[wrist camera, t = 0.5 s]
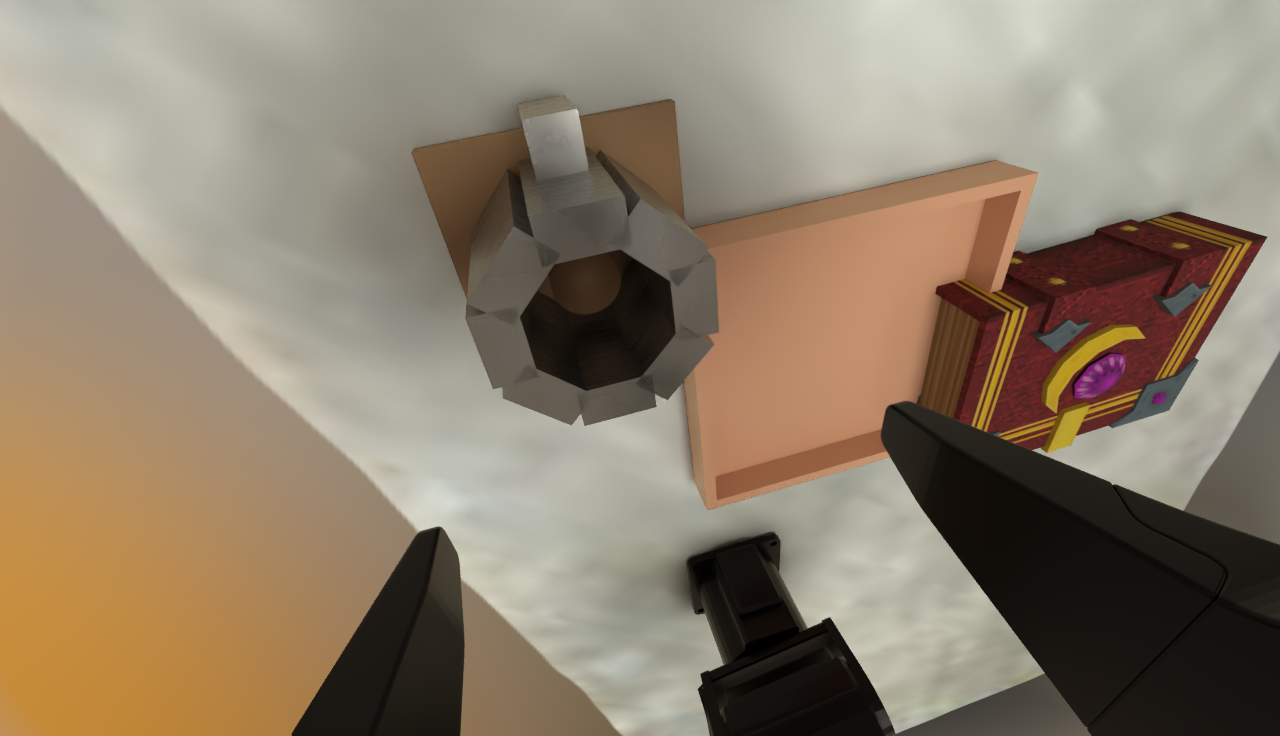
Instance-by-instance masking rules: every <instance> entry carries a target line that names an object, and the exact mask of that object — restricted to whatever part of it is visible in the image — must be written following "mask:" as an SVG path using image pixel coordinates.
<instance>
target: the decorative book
mask: <svg viewBox="0 0 1280 736" xmlns="http://www.w3.org/2000/svg"><path fill="white" fill-rule="evenodd" d="M1266 238H1267V237H1266V236H1263V235H1259V234H1256V233H1252V232H1249V231H1245V230H1242V229H1238V228H1235V227H1231V226H1228V225H1224V224H1221V223H1217V222H1214V221H1211V220H1207V219H1204V218H1200V217H1197V216H1193V215H1190V214H1186V213H1183V212H1177V213H1174V214H1170V215H1166V216H1163V217H1159V218H1156V219H1152V220H1149V221H1145V222H1141V223H1140V222H1137V221H1134V220H1127V221H1123V222H1120V223H1116V224H1113V225H1109V226H1105V227H1102V228H1098V229H1096V231H1095V234H1094V236H1092V237H1088V238H1084V239H1081V240H1077V241H1074V242H1070V243H1067V244H1063V245H1059V246H1056V247H1052V248H1049V249H1045V250H1042V251H1038V252H1035V253H1031V254H1025V253H1023V252H1020V251H1016V252H1013V255H1012V258H1011V261H1010V264H1009V267H1008V270H1007V273H1006V276H1005V280H1004V283H1003V286H1002V289H1001V290H998V291H995V292H991V293H989V292H988V291H986V290H984V289H982V288H980V287H979V286H977V285H975V284H973V283H971V282H970V281H968V280H966V279H962V280H958V281H955V282H951V283H948V284H944V285H940V286H937V288H936V293H935V294H937V295H938V296H940V297H941V302H940V307H939V311H938V316H937V321H936V325H935V330H934V335H933V339H932V344H931V349H930V353H929V358H928V363H927V367H926V372H925V377H924V381H923V386H922V391H921V395H919V397H918V400H917V404H918V405H921V406H923V407H926V408H928V409H931V410H933V411H936V412H938V413H941V414H943V415H946V416H948V417H950V418H953V419H955V420H958V421H960V422H963V423H965V424H968V425H970V426H973V427H975V428H978V429H980V430H983V431H985V432H988V433H990V434H992V435H995V436H997V437H1000V438H1002V439H1005V440H1007V441H1010V442H1012V443H1015V444H1017V445H1020V446H1022V447H1025V448H1027V449H1030V450H1034V449H1037V448H1041V449H1042V450H1044V451H1045V452H1046V453H1049V452H1052V451H1055V450H1058V449H1061V448H1064V447H1067V446H1070V445H1071V444H1072V442H1073V440H1074V438H1075V436H1077V435H1080V434H1083V433H1086V432H1090V431H1093V430H1096V429H1099V428H1102V427H1105V426H1108V425H1109V426H1110V427H1112V428H1114V427H1117V426H1121V425H1124V424H1127V423H1130V422H1133V421H1137V420H1140V419H1143V418H1146V417H1149V416H1153V415H1156V414H1159V413H1162V412H1165V411H1169V409H1170V408H1171V406H1172V404H1173V403H1174V401H1175V399H1176V398H1177V396H1178V394H1179V393H1180V391H1181V389H1182V388H1183V386H1184V384H1185V383H1186V381H1187V379H1188V377H1189V376H1190V374H1191V372H1192V371H1193V369H1194V367H1195V366H1196V364H1197V362H1198V361H1199V360H1198V359H1196V358H1195V356H1196V354H1197V353H1198V351H1199V349H1200V348H1201V346H1202V344H1203V343H1204V341H1205V340H1206V338H1207V336H1208V335H1209V333H1210V331H1211V330H1212V328H1213V326H1214V325H1215V323H1216V321H1217V320H1218V318H1219V316H1220V315H1221V313H1222V311H1223V310H1224V308H1225V306H1226V305H1227V303H1228V301H1229V300H1230V298H1231V296H1232V295H1233V293H1234V291H1235V290H1236V288H1237V286H1238V285H1239V283H1240V281H1241V280H1242V278H1243V276H1244V275H1245V273H1246V271H1247V270H1248V268H1249V266H1250V265H1251V263H1252V262H1253V260H1254V258H1255V257H1256V255H1257V253H1258V252H1259V250H1260V248H1261V247H1262V245H1263V243H1264V242H1265V240H1266Z"/></svg>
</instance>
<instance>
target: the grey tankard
mask: <svg viewBox="0 0 1280 736" xmlns="http://www.w3.org/2000/svg"><path fill="white" fill-rule="evenodd" d="M517 107H518V111H519V115H520V119H521V123H522V127H523V131H524V135H525V139H526V143H527V147H528V151H529V155H530V159H525V160H520V161H518V166H519V172H520V177H519V176H518V175H516V174H515V173H513V172H512V171H510V170H508V169H506V171H505V173H504V175H503V176H502V178H501V180H500V182H499V183H498V185H497V187H496V189H495V190H494V192H493V194H492V196H491V197H490V199H489V201H488V202H487V204H486V206H485V208H484V209H483V211H482V213H481V215H480V216H479V218H478V220H477V222H476V223H475V225H474V227H473V229H472V240H471V253H470V266H469V279H468V292H467V305H466V321H467V323H468V326H469V328H470V331H471V334H472V336H473V339H474V341H475V344H476V346H477V349H478V351H479V354H480V357H481V359H482V362H483V364H484V367H485V369H486V372H487V374H488V377H489V380H490V382H491V385H492V387H493V389H495V388H499V387H502V389H503V398H504V399H507V400H509V401H512V402H514V403H517V404H519V405H522V406H524V407H527V408H529V409H532V410H534V411H537V412H539V413H542V414H544V415H547V416H549V417H552V418H554V419H557V420H559V421H562V422H564V423H567V424H570V425H572V424H573V423H574V421H575V420H576V419H577V418H578V416H579V415H580V414H582V418H583V422H584V425H585V426H586V425H590V424H593V423H597V422H601V421H605V420H609V419H612V418H616V417H620V416H624V415H627V414H631V413H635V412H639V411H643V410H646V409H650V408H654V407H656V400H655V394H656V395H658V396H660V397H663V398H665V399H667V400H668V399H669V398H670V396H671V395H672V394H673V393H674V392H675V391H676V389H677V388H678V387H679V386H680V385H681V383H682V382H683V381H684V380H685V379H686V378H687V376H688V375H689V374H690V373H691V372H692V370H693V369H694V368H695V367H696V366H697V365H698V363H699V362H700V361H701V360H702V359H703V357H704V356H705V355H706V354H707V353H708V352H709V350H710V349H711V348H712V347H713V346H714V343H713V341H712V340H711V338H710V337H709V335H711V334H715V333H719V320H718V300H717V280H716V260H715V259H714V258H713V257H712V255H711V254H710V253H709V252H708V251H707V250H708V249H709V247H708V246H707V245H706V244H705V243H704V242H703V241H702V240H701V239H700V238H699V236H698V235H697V234H696V233H695V232H694V231H693V230H692V229H691V228H690V227H689V226H688V225H687V224H686V223H685V222H684V220H683V219H682V218H681V217H680V216H679V215H678V214H677V213H676V212H675V211H674V210H673V209H672V208H671V207H670V206H669V205H668V203H667V202H666V201H665V200H664V199H663V198H662V197H661V196H660V195H659V194H658V193H657V192H656V191H655V190H654V189H653V188H652V187H650V186H649V185H648V184H646V183H645V182H644V181H642V180H641V179H640V178H638V177H637V176H635V175H634V174H633V173H631V172H630V171H629V170H627V169H626V168H625V167H623V166H622V165H621V164H619V163H618V162H617V161H615V160H614V159H613V158H611V157H610V156H608V155H607V154H606V153H604V152H603V151H602V150H600V151H599V153H598V154H597V156H596V157H595V155H594V154H593V153H592V151H591V150H590V149H589V147H585V146H584V140H583V135H582V130H581V124H580V119H579V114H578V109H577V108H576V107H575V105H574V104H573V103H572V102H571V101H570V100H569V99H568V98H567V97H566V96H565V95H563V96H558V97H553V98H548V99H542V100H537V101H532V102H526V103H521V104H517ZM616 250H622V251H623V252H625V253H627V254H628V255H630V256H631V257H632V259H633V260H632V261H631V263H630V264H629V265H628V267H627V268H626V270H625V271H624V272H623V274H622V275H621V285H620V289H619V292H618V294H617V296H616V298H615V299H614V300H613V302H612V303H611V304H610V305H608V306H607V307H606V308H604V309H603V310H601V311H598V312H595V313H591V314H577V313H573V312H570V311H568V310H566V309H565V308H563V307H562V306H561V305H560V304H559V303H558V302H557V301H555V300H554V299H552V298H550V297H548V296H546V295H544V294H542V293H540V292H539V291H537V290H538V288H539V287H540V285H541V284H542V282H543V281H544V279H545V278H546V276H547V275H548V273H549V272H550V270H551V269H552V267H553V266H554V264H558V263H563V262H567V261H572V260H576V259H580V258H585V257H589V256H594V255H598V254H602V253H607V252H611V251H616Z"/></svg>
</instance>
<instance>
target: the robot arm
mask: <svg viewBox="0 0 1280 736" xmlns="http://www.w3.org/2000/svg"><path fill="white" fill-rule="evenodd" d="M881 441H882V444H883V446H884V448H885V449H886V451H887V453H888V454H889V456H890V458H891V459H892V461H893V463H894V464H895V466H896V468H897V469H898V471H899V472H900V474H901V476H902V477H903V479H904V481H905V482H906V484H907V486H908V487H909V489H910V491H911V492H912V494H913V496H914V497H915V499H916V501H917V502H918V504H919V505H920V507H921V508H922V510H923V511H924V512H925V514H926V515H927V517H928V518H929V519H930V521H931V522H932V523H933V525H934V526H935V527H936V529H937V530H938V531H939V533H940V534H941V535H942V537H943V538H944V539H945V541H946V542H947V543H948V545H949V546H950V547H951V549H952V550H953V551H954V553H955V554H956V555H957V557H958V558H959V559H960V561H961V562H962V563H963V565H964V566H965V567H966V569H967V570H968V571H969V573H970V574H971V575H972V577H973V578H974V579H975V581H976V582H977V583H978V585H979V586H980V587H981V589H982V590H983V591H984V593H985V594H986V595H987V597H988V598H989V599H990V601H991V602H992V603H993V604H994V606H995V607H996V608H997V610H998V611H999V612H1000V614H1001V615H1002V616H1003V618H1004V619H1005V620H1006V622H1007V623H1008V624H1009V626H1010V627H1011V628H1012V630H1013V631H1014V632H1015V634H1016V635H1017V636H1018V638H1019V639H1020V640H1021V642H1022V643H1023V644H1024V646H1025V647H1026V648H1027V650H1028V651H1029V652H1030V654H1031V655H1032V656H1033V658H1034V659H1035V660H1036V662H1037V663H1038V664H1039V666H1040V667H1041V668H1042V670H1043V671H1044V672H1045V674H1046V675H1047V676H1048V678H1049V679H1050V680H1051V682H1052V683H1053V684H1054V686H1055V687H1056V688H1057V690H1058V691H1059V692H1060V694H1061V695H1062V696H1063V698H1064V699H1065V700H1066V702H1067V703H1068V704H1069V706H1070V707H1071V708H1072V710H1073V711H1074V712H1075V714H1076V715H1077V716H1078V718H1079V719H1080V720H1081V722H1082V723H1083V724H1084V725H1085V726H1086V727H1088V728H1087V730H1088V731H1089V733H1090V734H1091V735H1092V736H1280V545H1279V544H1276V543H1273V542H1270V541H1268V540H1264V539H1262V538H1258V537H1256V536H1253V535H1250V534H1247V533H1244V532H1241V531H1239V530H1236V529H1233V528H1230V527H1227V526H1224V525H1221V524H1218V523H1216V522H1213V521H1210V520H1207V519H1205V518H1202V517H1199V516H1196V515H1193V514H1190V513H1188V512H1185V511H1182V510H1180V509H1177V508H1174V507H1172V506H1169V505H1167V504H1164V503H1161V502H1159V501H1156V500H1154V499H1151V498H1149V497H1146V496H1143V495H1141V494H1138V493H1136V492H1134V491H1131V490H1129V489H1126V488H1124V487H1121V486H1119V485H1116V484H1114V485H1112V484H1111V483H1110V482H1109V481H1106V480H1104V479H1101V478H1099V477H1096V476H1094V475H1091V474H1089V473H1086V472H1084V471H1081V470H1079V469H1076V468H1074V467H1071V466H1069V465H1067V464H1064V463H1062V462H1059V461H1057V460H1054V459H1052V458H1049V457H1047V456H1044V455H1042V454H1039V453H1037V452H1034V451H1032V450H1030V449H1027V448H1025V447H1022V446H1020V445H1017V444H1015V443H1012V442H1010V441H1007V440H1005V439H1002V438H1000V437H997V436H995V435H992V434H990V433H988V432H985V431H983V430H980V429H978V428H975V427H973V426H970V425H968V424H965V423H963V422H960V421H958V420H955V419H953V418H950V417H948V416H946V415H943V414H941V413H938V412H936V411H933V410H931V409H928V408H926V407H923V406H921V405H918V404H916V403H913V402H911V401H901V402H898V403H894V404H890V405H888V407H887V408H886V410H885V414H884V419H883V424H882V428H881ZM779 561H780V539H779V538H778V536H777V535H776V534H772V535H768V536H765V537H761V538H758V539H755V540H752V541H748V542H745V543H742V544H738V545H735V546H732V547H728V548H725V549H722V550H718V551H715V552H712V553H709V554H705V555H702V556H699V557H695V558H692V559H690V560H689V561H688V562H687V569H688V576H689V583H690V590H691V598H692V605H693V609H694V612H695V614H698V615H699V614H703V613H705V614H706V617H707V619H708V622H709V625H710V628H711V630H712V633H713V636H714V639H715V641H716V644H717V647H718V650H719V653H720V655H721V658H722V661H723V664H724V665H723V666H721V667H719V668H716V669H714V670H712V671H710V672H709V670H708V671H705V672H703V673H701V674H700V675H701V679H702V683H703V684H702V685H701V686H700V687H699V689H698V691H699V694H700V698H701V701H702V704H703V707H704V711H705V714H706V718H707V723H708V728H709V734H710V736H895V731H894V728H893V726H892V723H891V721H890V719H889V716H888V714H887V712H886V710H885V708H884V706H883V704H882V702H881V700H880V698H879V697H878V695H877V693H876V691H875V689H874V687H873V686H872V684H871V682H870V680H869V679H868V677H867V675H866V674H865V672H864V671H863V669H862V667H861V666H860V664H859V663H858V661H857V659H856V658H855V656H854V655H853V653H852V651H851V650H850V648H849V647H848V645H847V644H846V642H845V640H844V639H843V637H842V636H841V634H840V632H839V631H838V629H837V628H836V626H835V624H834V623H833V621H832V620H831V618H830V617H829V618H827V619H824V620H822V623H819V624H817V625H815V626H812V627H810V628H807V626H806V624H805V622H804V620H803V618H802V616H801V614H800V612H799V611H798V609H797V607H796V605H795V603H794V601H793V599H792V597H791V595H790V593H789V591H788V589H787V587H786V585H785V584H784V582H783V580H782V578H781V576H780V574H779ZM464 644H465V643H464V624H463V609H462V593H461V578H460V563H459V558H458V554H457V551H456V550H455V548H454V546H453V544H452V542H451V541H450V539H449V537H448V535H447V534H446V532H445V530H444V529H443V528H442V527H434V528H430V529H427V530H423V531H420V532H419V533H418V534H417V535H416V536H415V537H414V539H413V541H412V542H411V544H410V545H409V547H408V548H407V550H406V552H405V553H404V555H403V557H402V558H401V560H400V561H399V563H398V565H397V566H396V568H395V569H394V571H393V572H392V574H391V576H390V578H389V579H388V580H387V582H386V584H385V585H384V587H383V588H382V590H381V592H380V593H379V595H378V596H377V598H376V600H375V601H374V603H373V604H372V606H371V608H370V609H369V611H368V613H367V614H366V616H365V617H364V619H363V621H362V622H361V624H360V625H359V627H358V628H357V630H356V632H355V633H354V635H353V636H352V638H351V640H350V641H349V643H348V644H347V646H346V647H345V649H344V651H343V653H342V654H341V655H340V657H339V659H338V660H337V662H336V664H335V665H334V667H333V668H332V670H331V672H330V673H329V675H328V676H327V678H326V679H325V681H324V683H323V684H322V686H321V687H320V689H319V691H318V692H317V694H316V696H315V697H314V699H313V700H312V702H311V703H310V705H309V707H308V708H307V710H306V711H305V713H304V715H303V716H302V718H301V719H300V721H299V723H298V724H297V726H296V727H295V729H294V731H293V732H292V736H460V730H461V711H462V692H463V691H462V690H463V670H464Z"/></svg>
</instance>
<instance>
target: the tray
mask: <svg viewBox="0 0 1280 736" xmlns="http://www.w3.org/2000/svg"><path fill="white" fill-rule="evenodd" d="M1037 176H1038V172H1034V171H1031V170H1028V169H1024V168H1021V167H1017V166H1014V165H1010V164H1007V163H1003V162H1000V161H997V160H996V161H991V162H987V163H982V164H978V165H973V166H969V167H964V168H960V169H956V170H951V171H947V172H942V173H938V174H933V175H929V176H925V177H920V178H916V179H911V180H907V181H902V182H898V183H893V184H889V185H885V186H880V187H876V188H871V189H867V190H862V191H858V192H853V193H849V194H845V195H840V196H836V197H831V198H827V199H822V200H818V201H814V202H809V203H805V204H800V205H796V206H791V207H787V208H782V209H778V210H774V211H769V212H765V213H760V214H756V215H751V216H747V217H743V218H738V219H734V220H729V221H725V222H720V223H716V224H711V225H707V226H703V227H698V228H694V229H692V230H693V231H694V232H695V233H696V234H697V235H698V236H699V238H700V239H701V240H702V241H703V242H704V243H705V244H706V245H707V246H708V247H709V249H708V250H707V251H708V252H709V253H710V254H711V255H712V257H713V258H714V259H715V260H716V280H717V300H718V320H719V333H715V334H711V335H709V337H710V338H711V340H712V341H713V343H714V346H713V347H712V348H711V349H710V350H709V352H708V353H707V354H706V355H705V356H704V357H703V359H702V360H701V361H700V362H699V363H698V365H697V366H696V367H695V368H694V369H693V370H692V372H691V373H690V374H689V375H688V376H687V378H686V379H685V380H684V389H685V398H686V408H687V417H688V427H689V436H690V446H691V455H692V464H693V474H694V482H695V484H696V486H697V489H698V491H699V493H700V495H701V498H702V500H703V502H704V505H705V507H706V509H707V510H711V509H714V508H717V507H721V506H724V505H728V504H731V503H734V502H738V501H741V500H745V499H748V498H752V497H755V496H758V495H762V494H765V493H769V492H772V491H776V490H779V489H782V488H786V487H789V486H793V485H796V484H799V483H803V482H806V481H810V480H813V479H817V478H820V477H823V476H827V475H830V474H834V473H837V472H841V471H844V470H847V469H851V468H854V467H858V466H861V465H865V464H868V463H871V462H875V461H878V460H882V459H885V458H888V457H890V456H889V454H888V453H887V451H886V449H885V448H884V446H883V444H882V441H881V428H882V424H883V419H884V414H885V410H886V408H887V407H888V405H890V404H894V403H898V402H901V401H911V402H913V403H916V404H917V400H918V397H919V395H921V391H922V386H923V381H924V377H925V372H926V367H927V363H928V358H929V353H930V349H931V344H932V339H933V335H934V330H935V325H936V321H937V316H938V311H939V307H940V302H941V297H940V296H938V295H937V294H935V293H936V288H937V286H940V285H944V284H948V283H951V282H955V281H958V280H962V279H966V280H968V281H970V282H971V283H973V284H975V285H977V286H979V287H980V288H982V289H984V290H986V291H988V292H989V293H991V292H995V291H998V290H1001V289H1002V286H1003V283H1004V280H1005V276H1006V273H1007V270H1008V267H1009V264H1010V261H1011V258H1012V255H1013V251H1014V248H1015V245H1016V242H1017V239H1018V236H1019V233H1020V229H1021V226H1022V223H1023V220H1024V217H1025V214H1026V211H1027V208H1028V204H1029V201H1030V198H1031V195H1032V192H1033V189H1034V186H1035V183H1036V179H1037Z"/></svg>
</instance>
